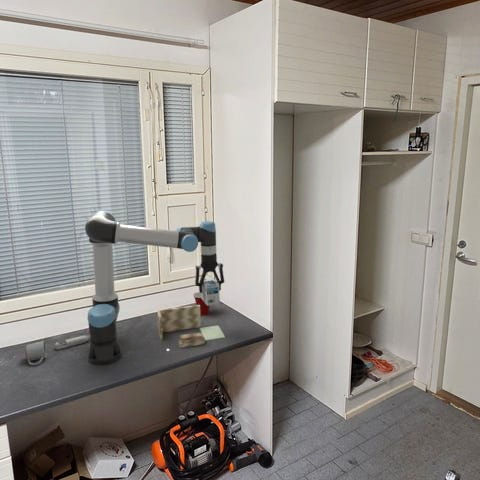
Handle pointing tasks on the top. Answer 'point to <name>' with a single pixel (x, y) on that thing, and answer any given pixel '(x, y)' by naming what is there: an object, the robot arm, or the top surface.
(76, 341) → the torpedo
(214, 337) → the mat
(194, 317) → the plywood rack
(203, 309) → the plastic cup
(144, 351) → the top surface
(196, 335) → the offcut stack
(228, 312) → the top surface
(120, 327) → the top surface
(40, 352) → the ceramic mug
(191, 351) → the top surface
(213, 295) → the light bulb box
